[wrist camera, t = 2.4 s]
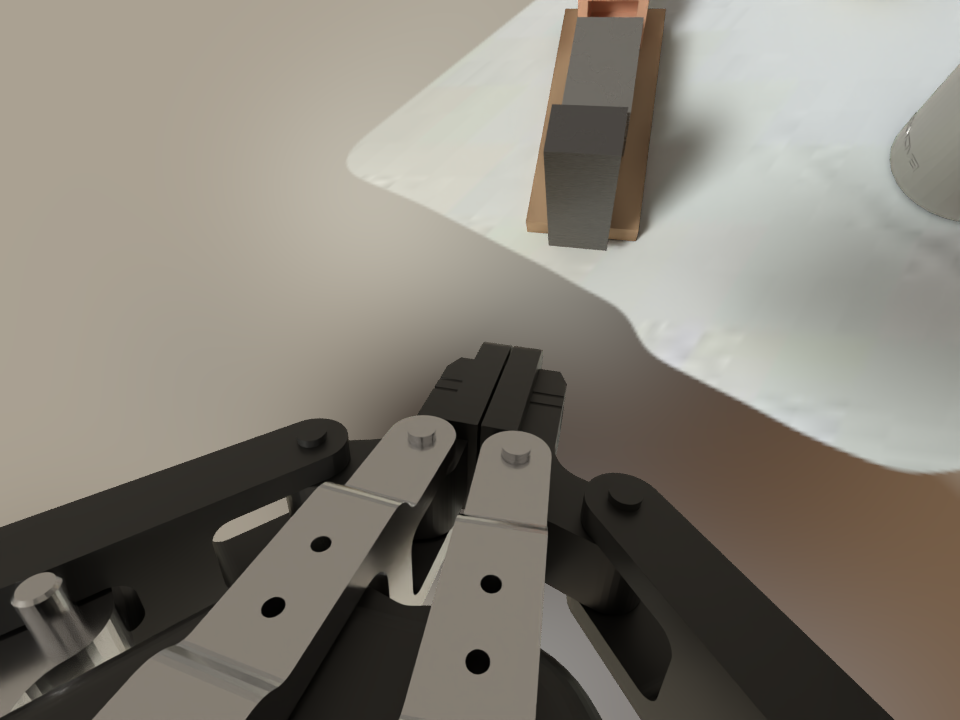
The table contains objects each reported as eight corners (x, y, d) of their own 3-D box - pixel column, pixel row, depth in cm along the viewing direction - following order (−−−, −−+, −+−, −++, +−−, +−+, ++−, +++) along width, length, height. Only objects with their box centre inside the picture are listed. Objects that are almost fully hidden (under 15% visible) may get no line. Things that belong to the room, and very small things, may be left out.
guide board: (662, 25, 42) (665, 8, 41) (635, 241, 37) (638, 230, 36) (565, 25, 44) (565, 8, 43) (527, 231, 39) (526, 221, 38)
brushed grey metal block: (633, 59, 40) (654, -83, 30) (606, 250, 35) (621, 155, 26) (580, 58, 40) (585, -81, 31) (548, 245, 36) (543, 151, 27)
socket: (646, 8, 41) (656, -54, 37) (641, 48, 40) (650, -11, 36) (583, 8, 42) (586, -52, 38) (576, 47, 41) (578, -10, 37)
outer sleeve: (635, 69, 40) (644, 17, 36) (623, 156, 38) (630, 112, 34) (576, 67, 41) (577, 17, 37) (561, 152, 39) (560, 109, 35)
